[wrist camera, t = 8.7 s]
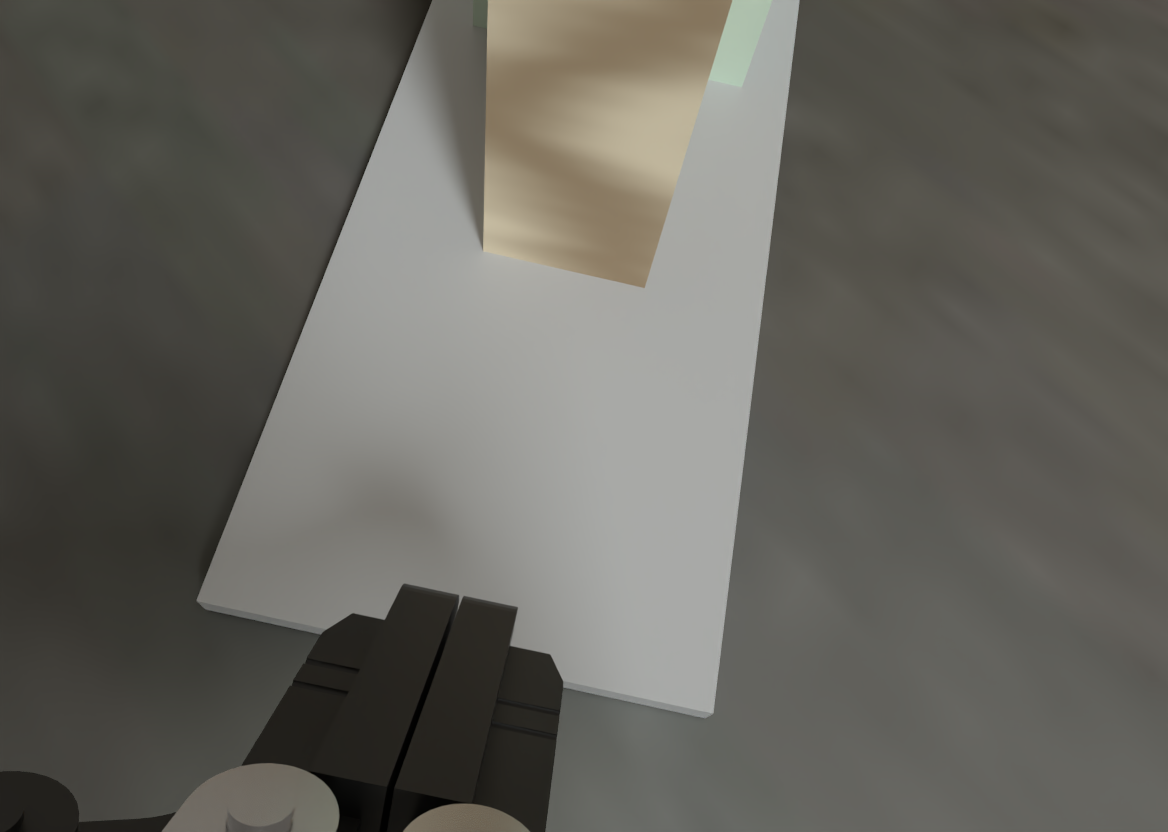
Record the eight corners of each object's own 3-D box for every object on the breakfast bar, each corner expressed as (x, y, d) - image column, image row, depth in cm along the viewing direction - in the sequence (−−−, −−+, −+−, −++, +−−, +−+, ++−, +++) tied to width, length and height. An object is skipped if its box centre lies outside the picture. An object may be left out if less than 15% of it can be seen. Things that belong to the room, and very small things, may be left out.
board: (205, 609, 16) (196, 600, 15) (495, -141, 26) (496, -162, 25) (704, 718, 16) (713, 713, 15) (803, -70, 26) (810, -89, 25)
